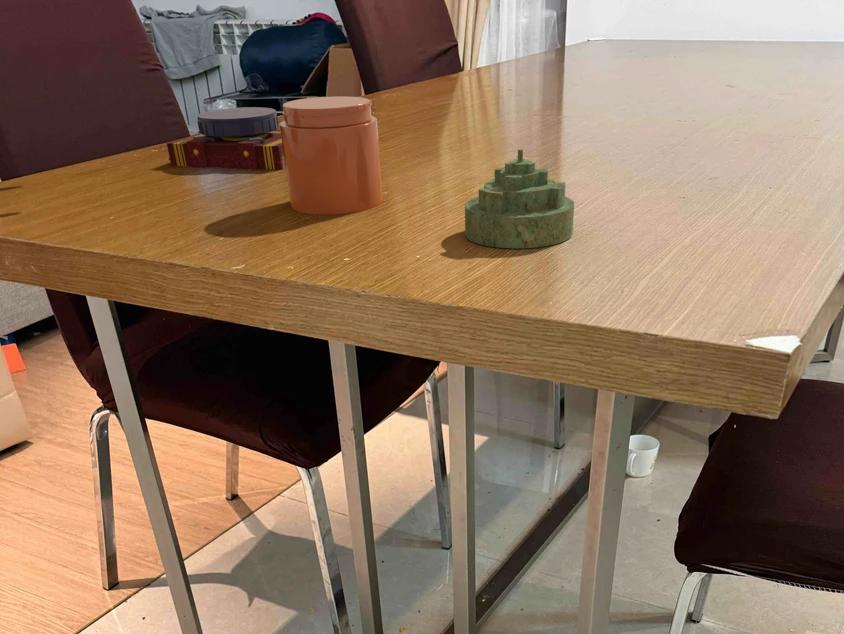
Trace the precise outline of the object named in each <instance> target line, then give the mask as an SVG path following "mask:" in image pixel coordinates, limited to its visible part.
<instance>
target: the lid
mask: <svg viewBox="0 0 844 634" xmlns="http://www.w3.org/2000/svg"><path fill="white" fill-rule="evenodd" d="M196 117H197V127H198V131H199V132H200V133H201V134H202V135H206V136H214V137H236V136H249V135H257V134H263V133H268V132H272V131H275V130H279V128H280V124H279V118H278V114H277V110H276V109H274V108H270V107H260V106H258V107H257V106H252V107H251V106H249V107H248V106H246V107H244V106H243V107H229V108H220V109H212V110H208V111H207V110H206V111H203V112H200V113H198V114H197V115H196Z"/></svg>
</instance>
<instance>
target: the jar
mask: <svg viewBox="0 0 844 634" xmlns="http://www.w3.org/2000/svg"><path fill="white" fill-rule="evenodd" d="M372 105H373V101H372V100H371V99H369V98H366V97H361V96H347V95H346V96H345V95H343V96H337V95H335V96H319V97H317V96H316V97H307V98H299V99H294V100H289V101H286V102H284V103H283V104H282V110H283V111H282V116H283V117H284V120H282V121H281V122H280V123H279V128H280V129H279V130H281V137H282V145H283V152H284V159H285V167H284V168H285V173H286V180H287V181H286V182H287V187H288V196H289V203H290V208H291V209H292V210H294V211H295V212H298V213H304V214H309V215H344V214H353V213H358V212H364V211H368V210H371V209H374V208H377V207H379V206H380V205H382V204H383V202H384V195H383V182H382V169H381V168H382V167H381V154H380V139H379V138H380V137H379V129H378V128H379V127H378V126H379V125H378V118H377V117H376V116H373V115H372Z"/></svg>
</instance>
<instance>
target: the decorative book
mask: <svg viewBox="0 0 844 634" xmlns="http://www.w3.org/2000/svg"><path fill="white" fill-rule="evenodd" d="M166 147H167V152H168V156H169V157H168V161H170V162H169V163H170V166H171V167H187V168H188V167H189V168H190V167H191V168H199V169H200V168H202V169H203V168H206V169H207V168H215V169H217V168H219V169H240V170H271V171H272V170H273V171H274V170H276V171H279V170H280V171H282V170H284V168H286V167H285V159H284V152H283V145H282V137H281V130H280V129H277V130H275V131H272V132H268V133H263V134H257V135H249V136H236V137H214V136H206V135H202V134H201V133H200V132H199V130H198V131H197V133H194V134H192V135H188V136H186V137H185V136H184V137H182V138H178V139H176V140H173V141H170V142H166Z"/></svg>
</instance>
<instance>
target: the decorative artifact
mask: <svg viewBox="0 0 844 634" xmlns="http://www.w3.org/2000/svg"><path fill="white" fill-rule="evenodd" d="M523 157H524V149H521V148H520V149H517V158H515V159H512V160H510V161H508V162H505V163H504V166H503V167H498V168H495V169H494V178H493V179H490V180H487V181H486V182H484V183H483V188H479V189H478V196H476V197H473V198H470V199H468V200H467V201H466V202H465V203H464V235H465V237H466V239H467V240H468V241H470V242H472V243H474V244H477V245H481V246H484V247H491V248H497V249H514V250H515V249H516V250H517V249H520V250H521V249H536V248H542V247H549V246H550V247H551V246H554V245H557V244H561V243H564V242H566V241H567V240H569V239H571V237H572V236H573V234H574V216H575V201H574V200H573V199H572V198H570V197H568V196H566V185H567V184H566V182H565V181H564V182H555V180H552V179H550V178H549V170H548V169H546V167H545V168H536V162H533V161H531V160H529V159H525V158H523Z"/></svg>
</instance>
